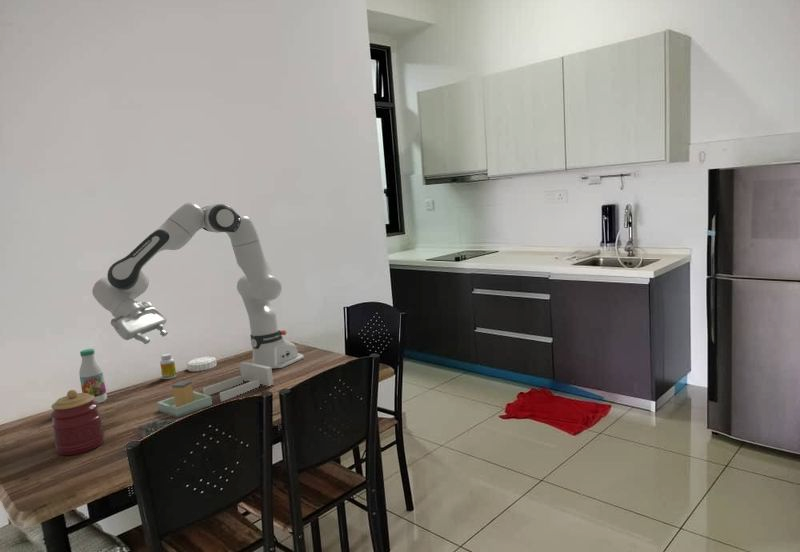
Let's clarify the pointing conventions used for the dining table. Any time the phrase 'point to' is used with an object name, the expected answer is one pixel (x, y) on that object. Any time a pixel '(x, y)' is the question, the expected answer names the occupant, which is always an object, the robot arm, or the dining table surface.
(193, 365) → the mooncake
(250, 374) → the dock
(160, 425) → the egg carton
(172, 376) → the supplement bottle
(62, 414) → the canister
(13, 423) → the dining table surface
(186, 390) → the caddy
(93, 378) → the milk bottle
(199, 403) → the tray
